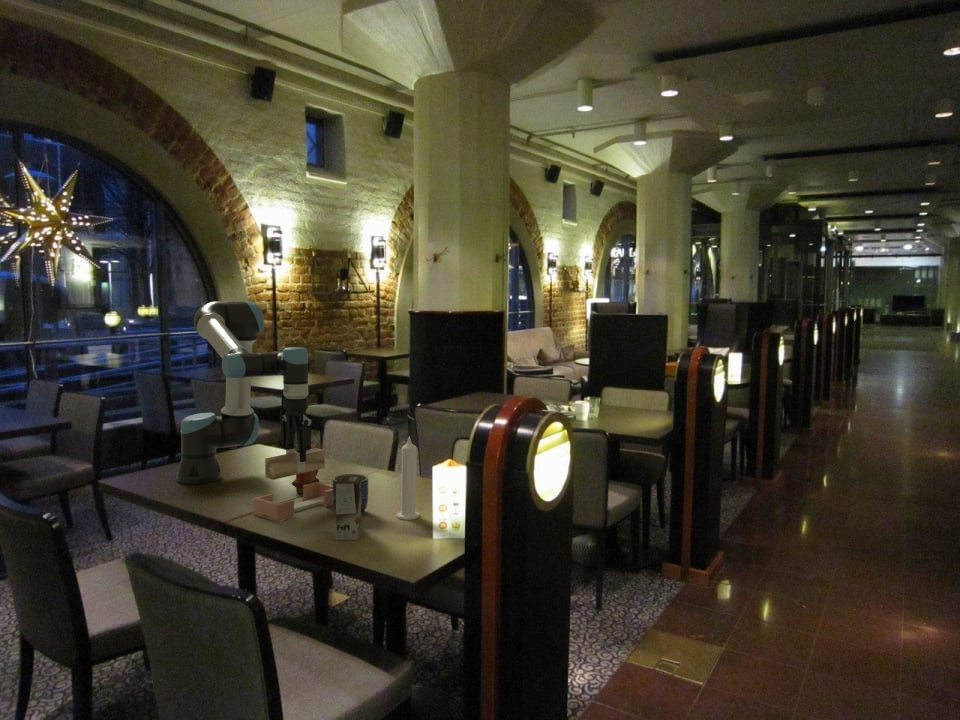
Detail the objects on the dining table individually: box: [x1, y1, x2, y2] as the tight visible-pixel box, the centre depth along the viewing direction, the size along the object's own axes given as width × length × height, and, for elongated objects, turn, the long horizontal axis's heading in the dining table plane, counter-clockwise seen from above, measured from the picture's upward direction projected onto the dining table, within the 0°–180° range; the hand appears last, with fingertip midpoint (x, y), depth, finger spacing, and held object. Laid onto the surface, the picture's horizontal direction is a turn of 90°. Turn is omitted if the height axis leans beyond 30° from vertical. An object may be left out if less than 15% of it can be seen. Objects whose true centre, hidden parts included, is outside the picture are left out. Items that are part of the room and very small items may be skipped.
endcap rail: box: [252, 481, 334, 523], centre depth 220 cm, size 11×25×5 cm, turn 144°
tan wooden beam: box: [264, 448, 326, 480], centre depth 219 cm, size 4×20×6 cm, turn 144°
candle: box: [396, 436, 421, 521], centre depth 213 cm, size 7×7×25 cm
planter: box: [332, 473, 369, 515], centre depth 216 cm, size 11×11×11 cm
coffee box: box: [335, 475, 362, 541], centre depth 196 cm, size 9×6×16 cm
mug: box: [291, 444, 320, 494], centre depth 241 cm, size 15×8×15 cm, turn 168°
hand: (296, 470), depth 219 cm, fingers closed on tan wooden beam, 4 cm apart
